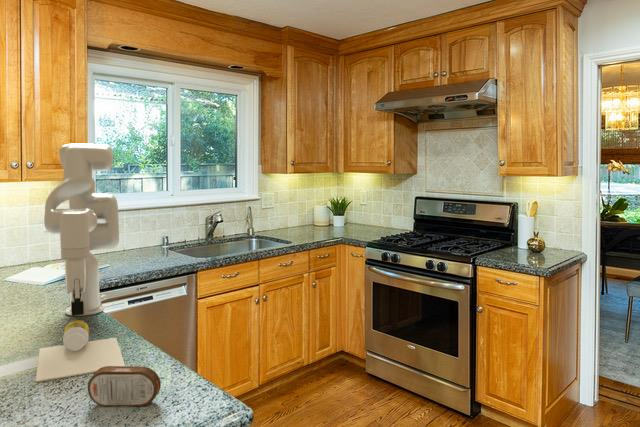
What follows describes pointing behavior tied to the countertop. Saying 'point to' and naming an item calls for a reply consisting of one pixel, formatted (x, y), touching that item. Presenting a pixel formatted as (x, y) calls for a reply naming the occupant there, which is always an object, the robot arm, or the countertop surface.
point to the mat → (77, 359)
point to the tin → (124, 386)
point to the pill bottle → (76, 335)
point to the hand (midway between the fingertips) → (77, 314)
